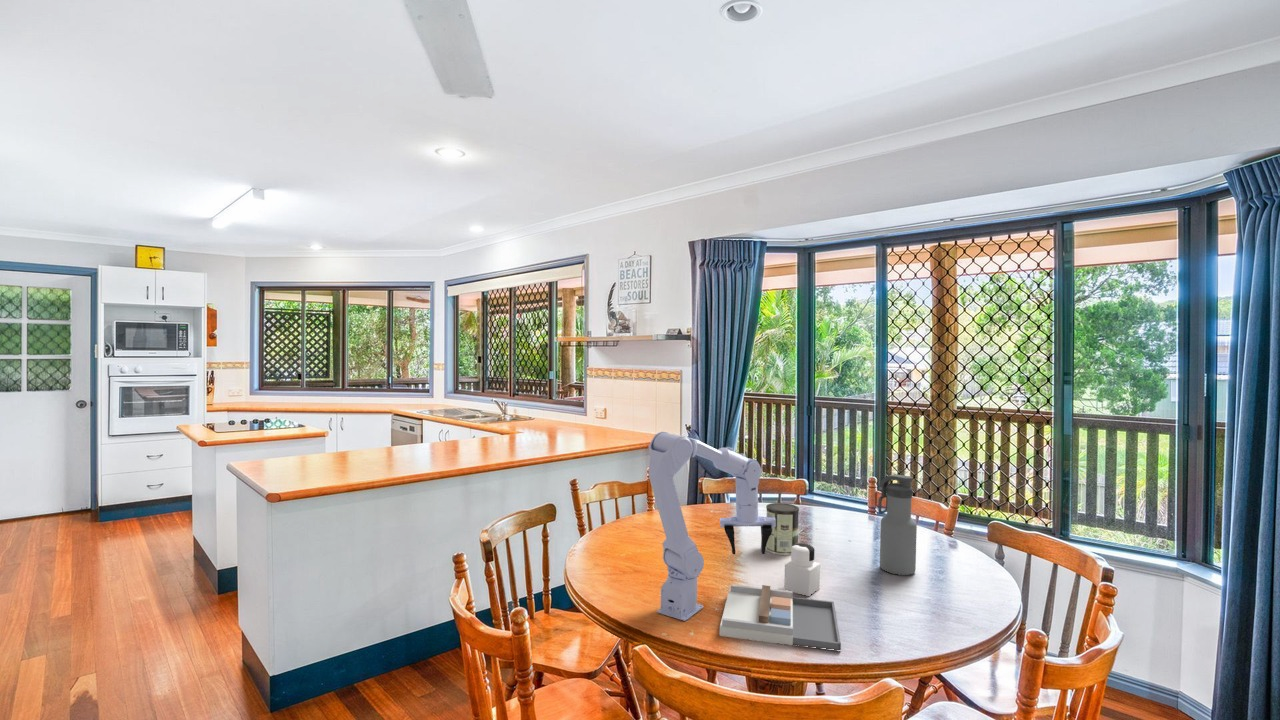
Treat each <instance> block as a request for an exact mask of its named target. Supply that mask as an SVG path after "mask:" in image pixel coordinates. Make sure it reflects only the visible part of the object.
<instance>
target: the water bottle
mask: <svg viewBox="0 0 1280 720" xmlns="http://www.w3.org/2000/svg"><path fill="white" fill-rule="evenodd" d="M890 481H898V482H893V483H889V482H890ZM912 482H913V477H912V476H909V475H903V474H895V473H894V474H890V475H887V476H885V477H883V478H882V479H881V481H880V482H879V488H878V489H879V490H880V491H881V494H880V497H879V498H878V508H877V509H878V510H877V511H878V514H880V515H882V514H885V513H886V515H883V516H882V518H881V519H880V542H879V567H880V569H881V570H883V571H884V570H885V572H886V571H887V572H886V573H888V572H890V573H889V574H891V573H893V574H892V575H895V574H900V575H899V576H903V575H904V576H910V574H911V575H913V574H915V572H916V567H917V566H916V565H917V562H916V561H917V535H918V534H917V528H918V525H917V524H918V523H917V522H916V521H915V520H914V519H913V518H912V499H913V492H914V490H913V489H914V488H913V487H912ZM883 499H885V500H886V501H885V508H884V509H883V510H882V501H883Z"/></svg>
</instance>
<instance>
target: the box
mask: <svg viewBox="0 0 1280 720" xmlns="http://www.w3.org/2000/svg"><path fill="white" fill-rule="evenodd" d="M834 602H835V601H832V600H831V601H828V600H821V599H813V598H803V597H795V596H793V645H797V646H796V647H799V646H808V647H816V648H826V649H834V650H842V649H841V648H842V642H841V638H840V636H841V635H840V631H839V625H838V619H837V614H836V613H837V612H836V607H835V603H834ZM798 645H799V646H798Z"/></svg>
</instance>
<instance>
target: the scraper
mask: <svg viewBox="0 0 1280 720" xmlns="http://www.w3.org/2000/svg"><path fill="white" fill-rule="evenodd" d="M761 588H762V593H761V601H760V610H759V622H760V623H768V617H769V605H770V589H771V585H767V584H765V585H764V584H763V585H761Z"/></svg>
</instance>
